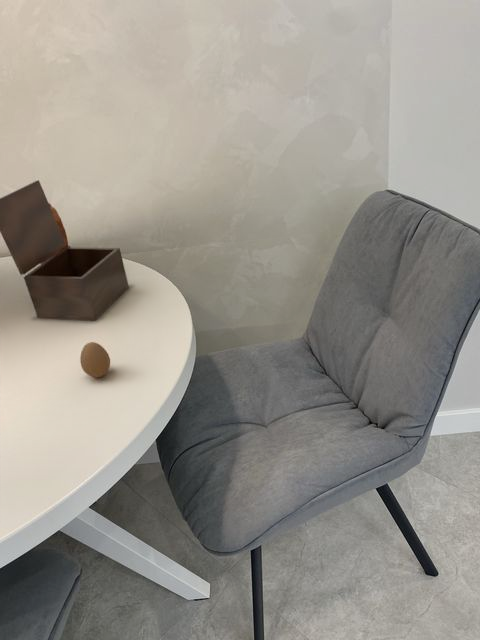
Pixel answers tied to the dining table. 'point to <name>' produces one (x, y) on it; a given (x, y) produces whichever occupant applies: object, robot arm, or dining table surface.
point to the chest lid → (29, 227)
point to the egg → (94, 360)
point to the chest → (77, 283)
